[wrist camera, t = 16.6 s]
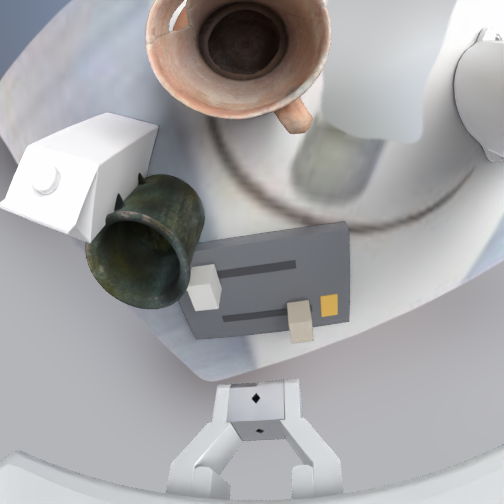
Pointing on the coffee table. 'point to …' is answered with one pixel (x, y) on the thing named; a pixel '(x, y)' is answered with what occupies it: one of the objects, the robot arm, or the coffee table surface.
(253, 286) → the switch panel
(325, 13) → the ceramic jug
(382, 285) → the coffee table surface
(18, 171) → the milk carton
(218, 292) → the off white slider
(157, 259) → the mug
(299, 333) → the sand slider
